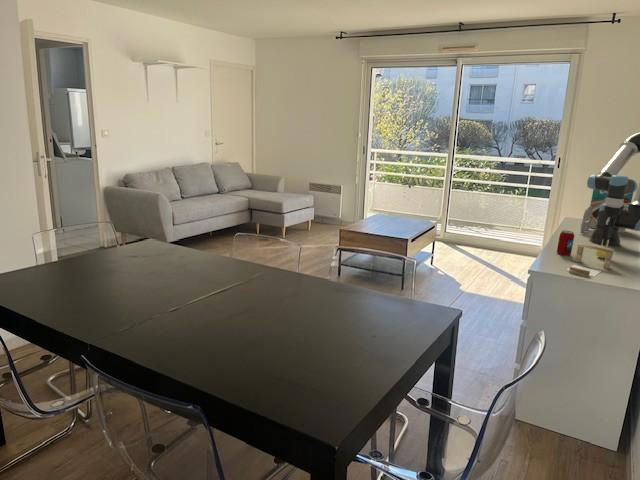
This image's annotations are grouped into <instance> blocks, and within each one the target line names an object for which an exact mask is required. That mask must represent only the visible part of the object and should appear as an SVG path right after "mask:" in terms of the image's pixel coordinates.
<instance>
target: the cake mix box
mask: <svg viewBox="0 0 640 480" xmlns="http://www.w3.org/2000/svg"><path fill="white" fill-rule="evenodd" d="M607 193H608V191H601V190H595V189H592V194H591V200H590V204H589V206H592V216H591V223H590V227H589V229H595V228H596V224H597V219H598V214H599V209H600V206H601V204H603V203H605V202H606V200H605V199H607ZM633 197H634V192H633V193H631V194H625V196H624V201H623V204H625V206H624V207H628V206H629V204H630V203H631V202H633ZM625 232H626V228H621V227H620V228H619V233H623V234H624V233H625Z"/></svg>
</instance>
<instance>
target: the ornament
mask: <svg viewBox="0 0 640 480" xmlns="http://www.w3.org/2000/svg"><path fill="white" fill-rule="evenodd" d="M591 216H592V206H590V205H588V206H587V207H585V211H584V213H583V217H582V222H581V224H580V233H578V235H580V236H585V237H591V235H592V233H593V232H594V230H595V229H594V228H589V227H590V223H591Z"/></svg>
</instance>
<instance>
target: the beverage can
mask: <svg viewBox="0 0 640 480" xmlns="http://www.w3.org/2000/svg"><path fill="white" fill-rule="evenodd" d="M574 240H575V234H574V231H570V230H561V232H560V233H559V236H558V243H557V248H556V253H557V254H558V255H559V256H566V257H568V256H569V255H571V254H572V251H573V247H574V246H573V245H574Z"/></svg>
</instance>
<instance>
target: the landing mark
mask: <svg viewBox="0 0 640 480" xmlns="http://www.w3.org/2000/svg"><path fill="white" fill-rule="evenodd" d="M570 267H575V268H579V269H584V270H588V271H590V274H589V277H592V278H595V277H596V276H598V275H599V274H600V273H601V272H602V270H599V269H593V268H589V267H587V266H586V267H585V266H580V265H577V264H573V265H571V266H570ZM570 267H568V268H567V269H565V271H568V272H569V270H570Z"/></svg>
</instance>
